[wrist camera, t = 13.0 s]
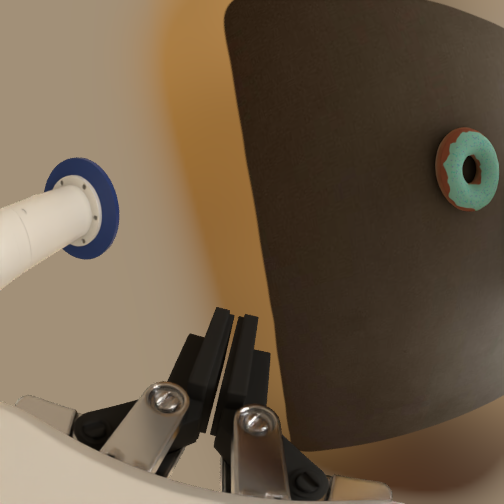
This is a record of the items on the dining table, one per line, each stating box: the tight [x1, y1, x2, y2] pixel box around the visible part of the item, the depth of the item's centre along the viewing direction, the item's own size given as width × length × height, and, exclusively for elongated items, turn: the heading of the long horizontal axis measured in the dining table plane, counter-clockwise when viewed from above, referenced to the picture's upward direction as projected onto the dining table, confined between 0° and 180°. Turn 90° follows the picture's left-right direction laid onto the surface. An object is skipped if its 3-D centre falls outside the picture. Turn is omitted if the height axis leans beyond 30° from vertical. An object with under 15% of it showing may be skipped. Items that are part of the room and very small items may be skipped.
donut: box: [435, 127, 499, 211], centre depth 28 cm, size 12×12×4 cm
